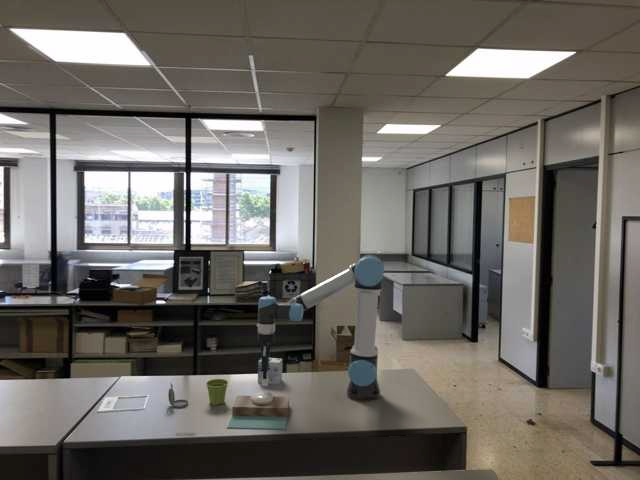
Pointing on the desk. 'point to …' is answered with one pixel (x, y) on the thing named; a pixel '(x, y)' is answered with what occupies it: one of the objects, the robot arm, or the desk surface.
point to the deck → (261, 407)
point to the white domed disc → (261, 398)
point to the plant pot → (217, 390)
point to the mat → (257, 422)
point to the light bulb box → (271, 371)
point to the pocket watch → (178, 402)
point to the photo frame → (111, 401)
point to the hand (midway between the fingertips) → (264, 385)
